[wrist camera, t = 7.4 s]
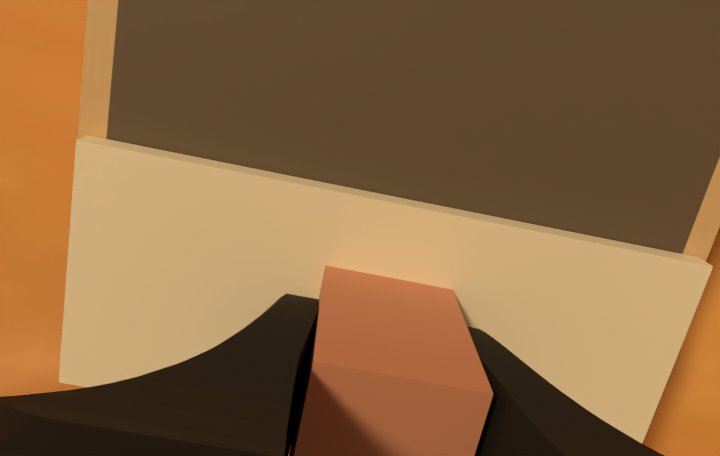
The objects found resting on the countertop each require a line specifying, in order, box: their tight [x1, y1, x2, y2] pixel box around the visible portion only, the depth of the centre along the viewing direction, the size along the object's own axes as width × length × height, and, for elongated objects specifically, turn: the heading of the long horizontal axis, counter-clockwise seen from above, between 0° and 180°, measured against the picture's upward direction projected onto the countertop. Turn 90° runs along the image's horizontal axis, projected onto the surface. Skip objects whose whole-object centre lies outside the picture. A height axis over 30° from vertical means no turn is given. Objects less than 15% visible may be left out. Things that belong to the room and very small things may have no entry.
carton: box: [78, 0, 720, 262], centre depth 13 cm, size 10×12×4 cm
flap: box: [59, 135, 713, 456], centre depth 10 cm, size 5×12×4 cm, turn 78°
